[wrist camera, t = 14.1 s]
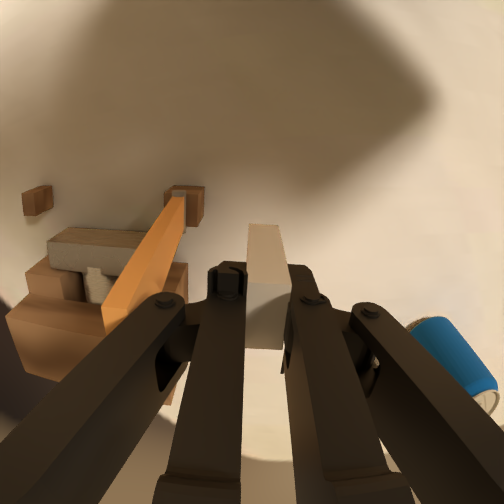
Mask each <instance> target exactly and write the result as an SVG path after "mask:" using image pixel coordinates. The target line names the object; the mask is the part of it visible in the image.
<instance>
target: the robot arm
mask: <svg viewBox="0 0 504 504" xmlns="http://www.w3.org/2000/svg"><path fill="white" fill-rule="evenodd" d="M283 343H284V344H285V349H284V355H283V361H282V367H281V373H280V374H284V373H285V382H286V392H287V402H288V413H289V423H290V434H291V444H292V455H293V466H294V477H295V489H296V501H297V504H415V501H414V498H413V495H412V492H411V488H412V490H413V491H414V493H415V494H416V496H417V498H418V499H419V501H420V502H421V504H504V432H503V430H502V429H501V428H500V427H499V426H498V425H497V424H496V423H495V421H494V420H493V419H492V418H491V417H490V416H489V415H488V414H487V413H486V412H485V411H484V409H483V408H482V407H481V406H480V405H479V404H478V403H477V402H476V401H475V400H474V399H473V398H472V396H471V395H470V394H469V393H468V392H467V391H466V390H465V389H464V388H463V387H462V386H461V385H460V384H459V383H458V382H457V381H456V380H455V379H454V377H453V376H452V375H451V374H450V373H449V372H448V371H447V370H446V369H445V368H444V367H443V366H442V365H441V364H440V363H439V362H438V361H437V360H436V359H435V358H434V357H433V356H432V355H431V354H430V353H429V352H428V351H427V350H426V349H425V348H424V347H423V346H422V345H421V344H420V343H419V342H418V341H417V340H416V339H415V338H414V337H413V336H412V335H411V334H410V333H409V332H408V331H407V330H406V329H405V328H404V327H403V326H402V325H401V324H400V323H399V322H398V321H397V320H396V319H395V318H394V317H393V316H392V315H391V314H390V313H389V312H388V311H387V310H385V309H384V308H383V307H381V306H379V305H377V304H375V303H371V302H360V303H357V304H355V305H354V306H353V307H352V311H351V312H346V311H341V310H338V309H334V308H332V305H331V303H330V300H329V299H328V298H327V297H326V296H324V295H323V294H321V293H319V290H318V287H317V285H316V282H315V279H314V277H313V274H312V271H311V270H310V269H309V268H308V267H306V266H305V265H295V264H287V261H286V257H285V252H284V248H283V244H282V239H281V235H280V231H279V226H278V225H264V224H249V232H248V247H247V262H234V261H223V262H222V263H220V264H219V265H218V266H215V267H213V268H211V269H210V270H209V271H208V290H207V298H206V299H205V300H203V301H200V302H196V303H189V304H185V301H184V298H183V297H182V296H180V295H179V294H176V293H171V292H159V293H156V294H153V295H151V296H149V297H148V298H147V299H146V300H144V301H143V302H142V303H141V304H140V305H139V306H138V307H137V308H136V309H135V310H134V311H133V312H132V313H131V314H129V315H128V316H127V317H126V318H125V319H124V320H123V321H122V322H121V323H120V324H119V325H118V326H117V327H116V328H115V329H114V330H113V331H111V332H110V333H109V334H108V335H107V336H106V337H105V338H104V339H103V340H102V341H101V342H100V343H99V344H98V345H97V346H96V347H95V348H94V349H93V350H92V351H91V352H90V353H89V354H88V355H87V356H86V357H84V358H83V359H82V360H81V361H80V362H79V363H78V364H77V365H76V366H75V367H74V368H73V369H72V370H71V371H70V372H69V373H68V374H67V375H66V376H65V377H64V378H63V379H62V380H61V381H60V382H59V383H58V384H57V385H56V386H55V387H54V388H53V389H52V390H51V391H50V392H49V393H48V394H47V395H46V396H45V397H44V398H43V399H42V400H41V401H40V402H39V403H38V404H37V405H36V406H35V407H34V409H32V411H30V413H29V414H28V415H27V416H26V417H25V418H24V419H23V420H22V421H21V422H20V423H19V424H18V425H17V426H16V427H15V428H14V429H13V430H12V431H11V432H10V433H9V434H8V436H7V437H6V438H5V439H4V440H3V441H2V442H1V443H0V504H98V503H99V502H100V500H101V499H102V497H103V496H104V494H105V493H106V491H107V490H108V488H109V486H110V485H111V483H112V482H113V480H114V479H115V477H116V475H117V474H118V473H119V471H120V470H121V468H122V467H123V465H124V464H125V462H126V461H127V459H128V457H129V456H130V454H131V453H132V451H133V450H134V448H135V447H136V445H137V444H138V442H139V441H140V439H141V437H142V436H143V434H144V433H145V431H146V430H147V428H148V427H149V425H150V424H151V422H152V421H153V419H154V417H155V416H156V414H157V413H158V411H159V410H160V408H161V407H162V405H163V404H164V402H165V400H166V399H167V397H168V396H169V394H170V393H171V391H172V390H173V388H174V386H175V385H176V383H177V382H178V380H179V379H180V377H181V376H182V374H183V372H184V371H185V369H186V368H187V365H188V362H189V361H191V363H190V367H189V371H188V375H187V380H186V384H185V388H184V392H183V397H182V401H181V406H180V410H179V414H178V419H177V423H176V428H175V433H174V437H173V442H172V447H171V451H170V456H169V461H168V465H167V469H166V472H165V474H163V475H160V477H159V479H158V481H157V484H156V488H155V491H154V496H153V501H152V504H241V503H240V502H241V482H240V472H241V442H242V413H243V384H244V356H245V348H253V349H274V350H282V349H283ZM375 357H377V359H378V361H379V363H380V364H379V366H377V365H376V364H375V363H374V360H375ZM379 438H380V440H381V441H382V443H383V445H384V446H385V448H386V449H387V451H388V452H389V454H390V455H391V457H392V459H393V460H394V462H395V463H396V465H397V466H398V468H399V470H400V471H401V473H400V472H391V470H389V468H388V466H387V463H386V459H385V456H384V453H383V450H382V446H381V443H380V440H379ZM410 487H411V488H410Z"/></svg>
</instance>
